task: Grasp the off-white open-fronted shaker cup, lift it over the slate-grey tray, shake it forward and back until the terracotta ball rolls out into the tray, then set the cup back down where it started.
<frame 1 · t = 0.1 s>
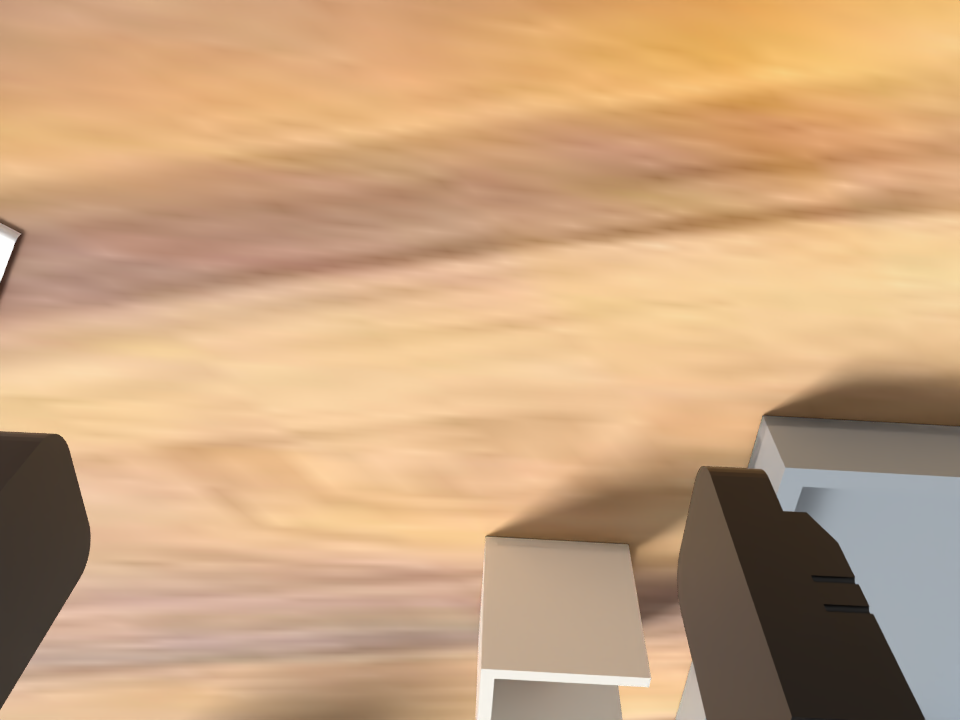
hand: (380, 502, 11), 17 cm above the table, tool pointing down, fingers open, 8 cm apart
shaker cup: (550, 589, 36), on the table, touching ball
tray: (869, 608, 36), on the table
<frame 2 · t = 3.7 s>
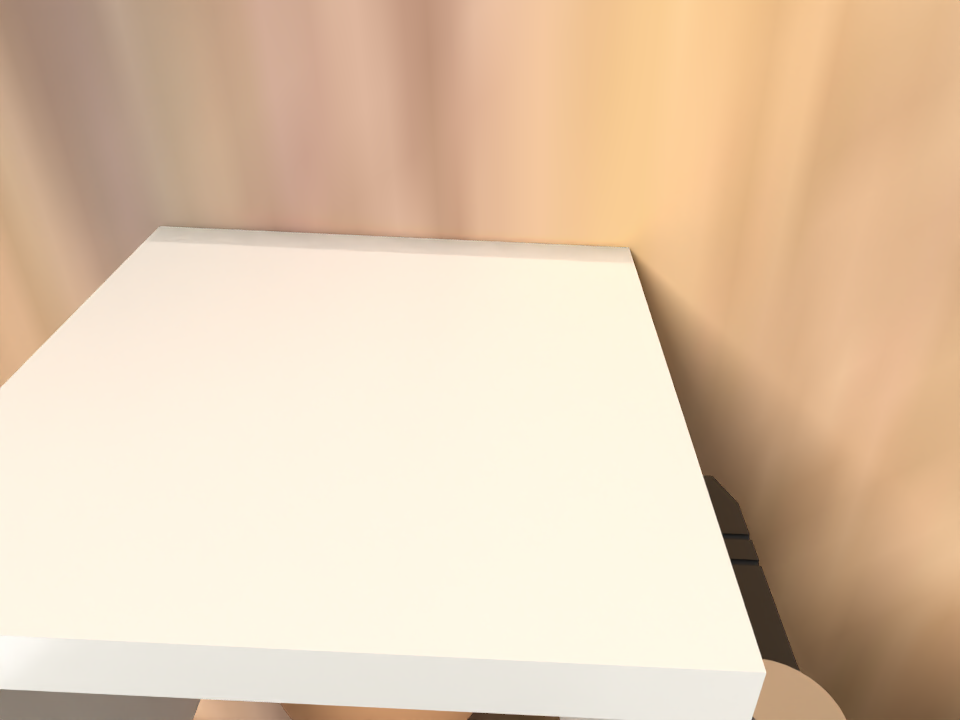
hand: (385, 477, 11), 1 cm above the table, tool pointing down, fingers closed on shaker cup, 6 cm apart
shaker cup: (397, 429, 12), on the table, touching ball, gripper
ball: (384, 627, 11), point 2 cm above the table, tilted 82°, touching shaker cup
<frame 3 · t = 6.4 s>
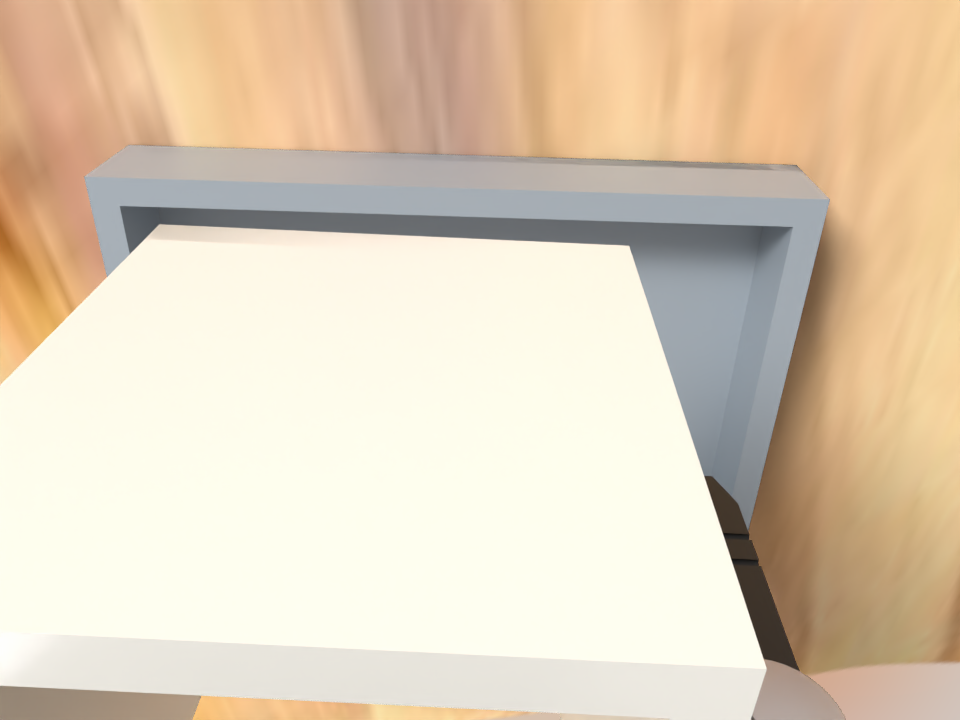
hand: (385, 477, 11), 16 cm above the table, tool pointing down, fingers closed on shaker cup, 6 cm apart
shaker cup: (397, 427, 12), point 15 cm above the table, touching ball, gripper
tray: (458, 356, 28), on the table
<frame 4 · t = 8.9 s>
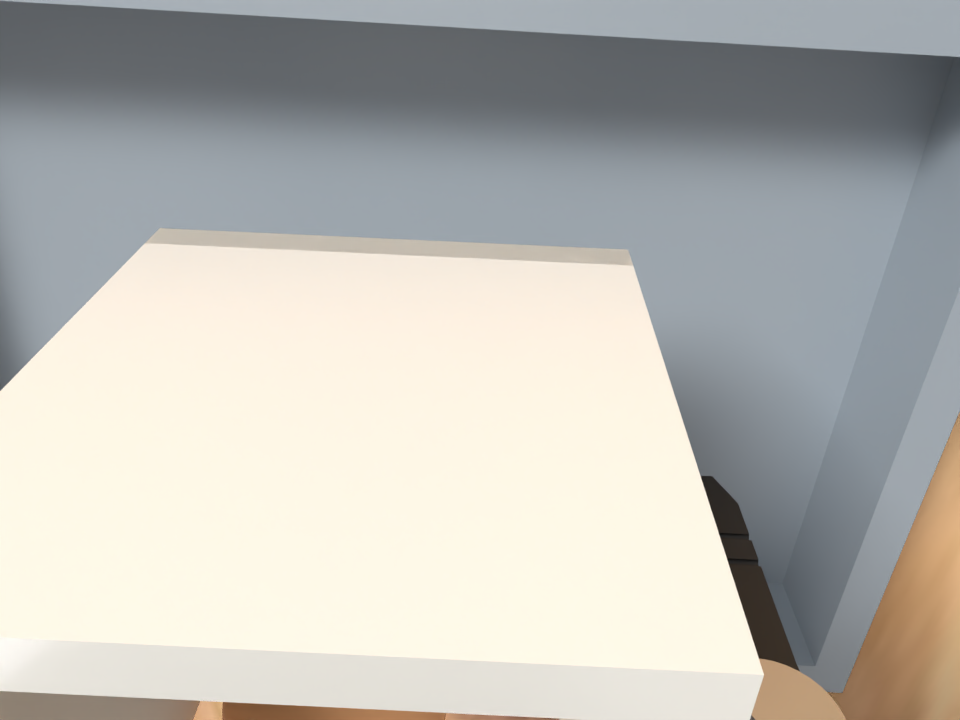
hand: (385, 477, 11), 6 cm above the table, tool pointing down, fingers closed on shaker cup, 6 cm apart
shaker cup: (396, 430, 12), point 5 cm above the table, touching gripper
tray: (401, 320, 17), on the table
ball: (337, 699, 12), point 7 cm above the table, tilted 122°
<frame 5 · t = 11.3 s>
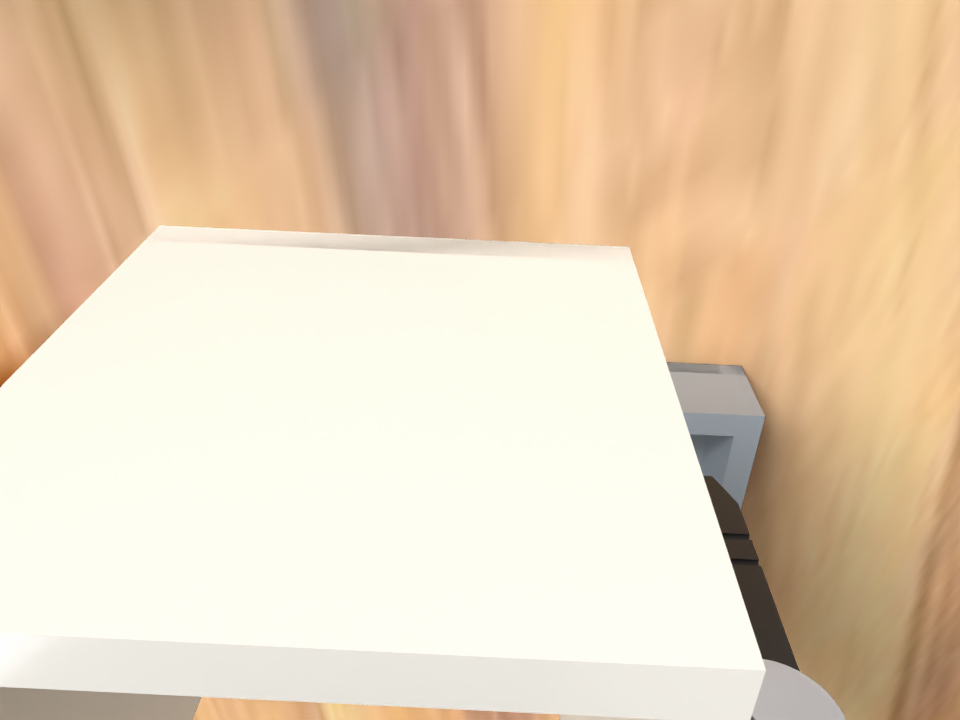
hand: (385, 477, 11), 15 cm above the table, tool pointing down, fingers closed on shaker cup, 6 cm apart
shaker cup: (397, 428, 12), point 14 cm above the table, touching gripper
tray: (440, 511, 31), on the table
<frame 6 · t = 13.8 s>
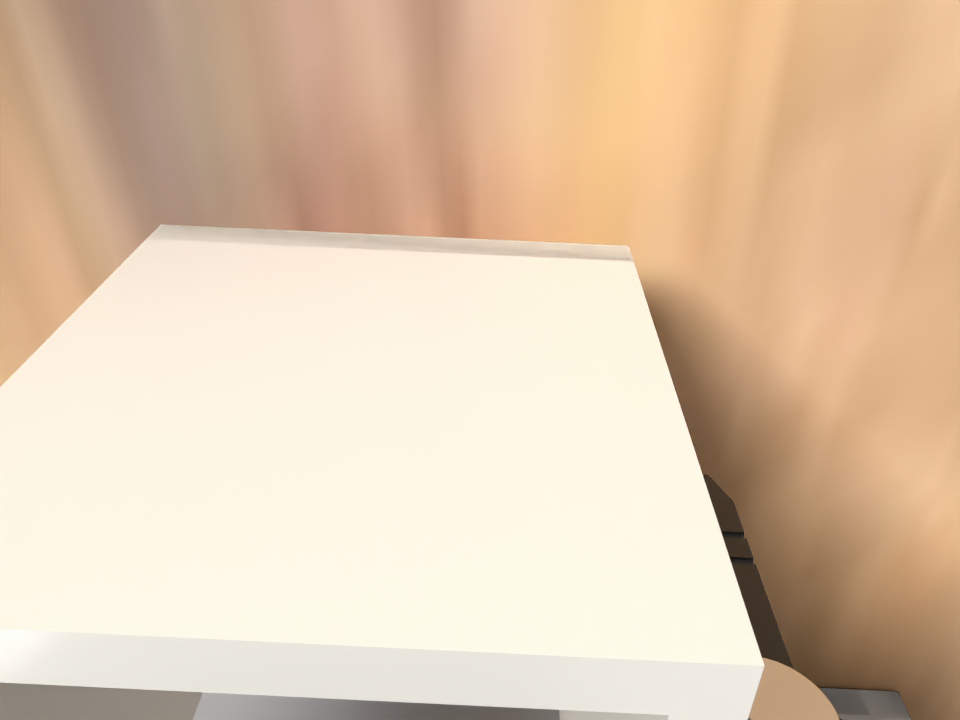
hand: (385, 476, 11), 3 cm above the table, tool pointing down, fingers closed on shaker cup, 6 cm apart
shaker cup: (397, 427, 12), point 1 cm above the table, touching gripper
when the fingers open (3 cm above the table, at t = 14.2 s): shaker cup drops 1 cm, on the table.
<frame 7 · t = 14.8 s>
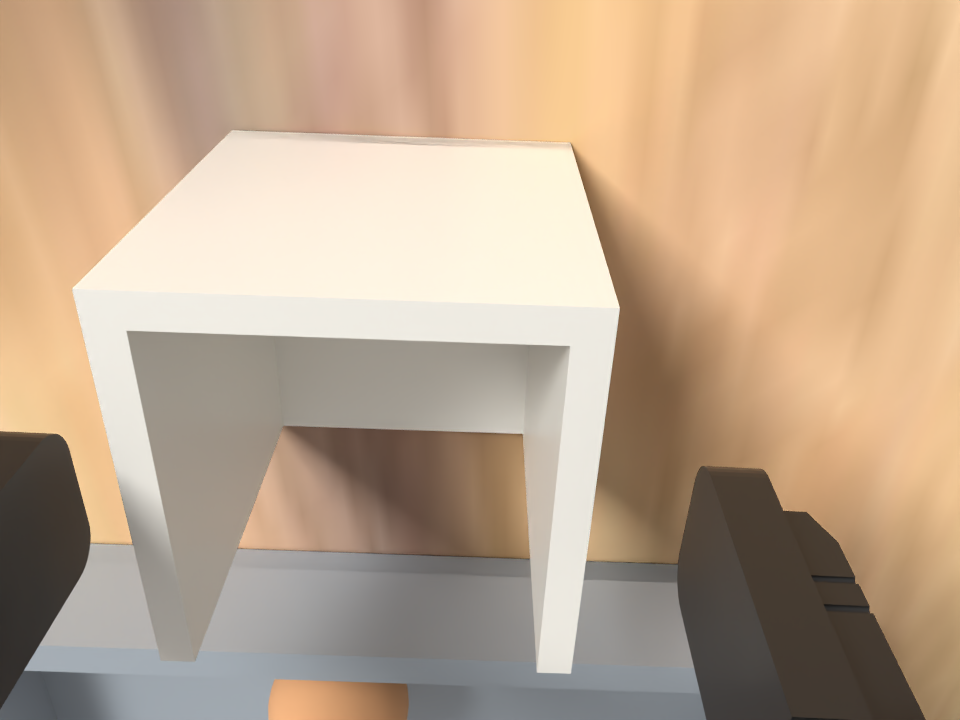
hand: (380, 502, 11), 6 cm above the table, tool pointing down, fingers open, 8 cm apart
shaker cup: (403, 289, 16), on the table
ball: (339, 704, 19), point 2 cm above the table, tilted 52°, touching tray
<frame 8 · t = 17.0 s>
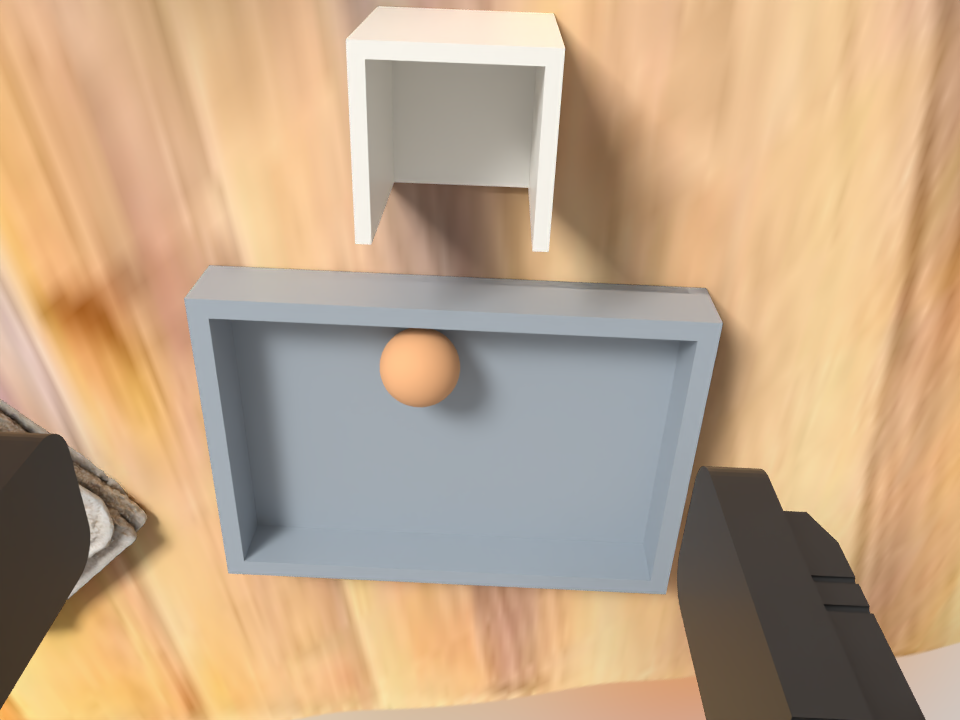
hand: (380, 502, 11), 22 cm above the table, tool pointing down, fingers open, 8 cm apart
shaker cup: (463, 99, 30), on the table
tray: (453, 420, 37), on the table
ball: (420, 367, 33), point 2 cm above the table, tilted 49°, touching tray
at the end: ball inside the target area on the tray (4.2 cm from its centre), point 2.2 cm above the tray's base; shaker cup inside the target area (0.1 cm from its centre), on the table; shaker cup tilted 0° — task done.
